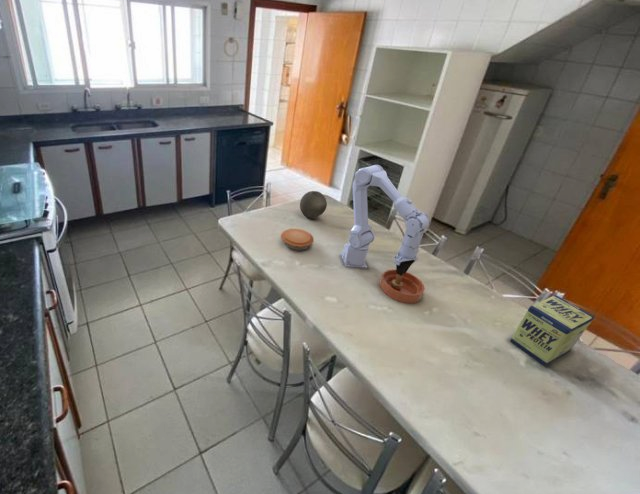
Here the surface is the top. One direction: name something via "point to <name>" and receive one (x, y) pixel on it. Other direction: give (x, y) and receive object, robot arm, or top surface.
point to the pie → (297, 239)
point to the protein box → (551, 329)
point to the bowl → (409, 290)
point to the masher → (397, 282)
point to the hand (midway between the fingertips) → (400, 273)
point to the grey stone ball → (313, 204)
